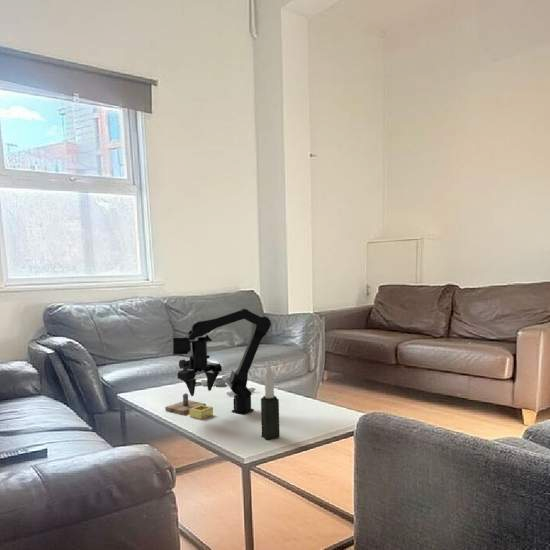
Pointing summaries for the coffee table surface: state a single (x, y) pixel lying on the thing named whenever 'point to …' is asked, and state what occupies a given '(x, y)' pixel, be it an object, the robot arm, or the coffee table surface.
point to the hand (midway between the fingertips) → (200, 393)
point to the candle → (270, 408)
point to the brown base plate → (183, 406)
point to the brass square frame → (201, 411)
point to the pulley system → (217, 383)
